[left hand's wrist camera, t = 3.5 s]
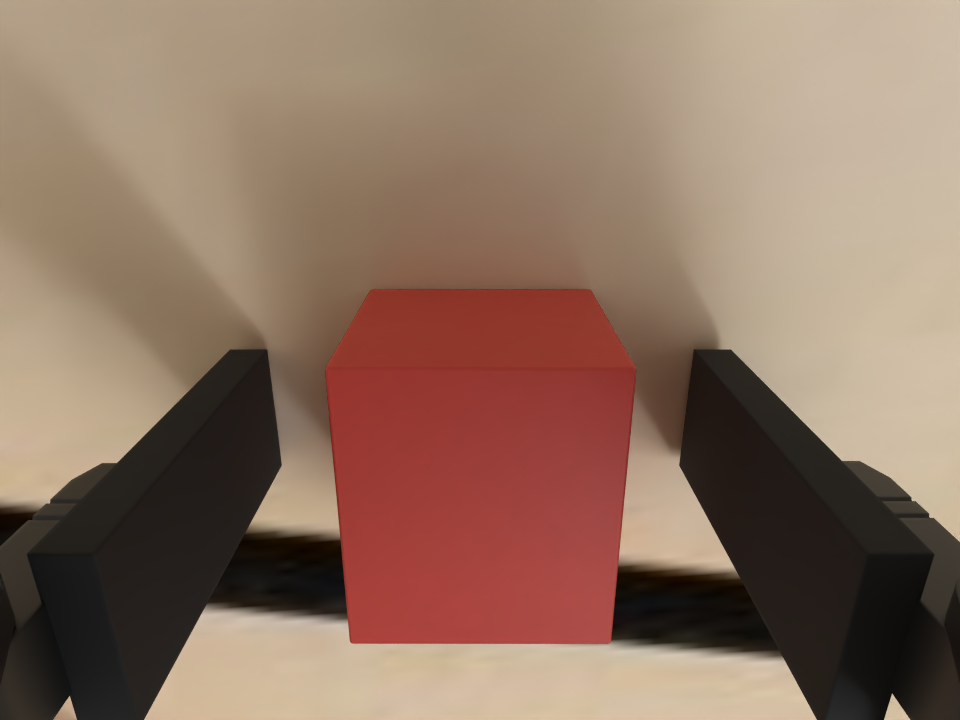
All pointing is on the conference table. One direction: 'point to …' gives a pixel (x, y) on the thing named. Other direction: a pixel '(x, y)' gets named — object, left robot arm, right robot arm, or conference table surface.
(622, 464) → the block
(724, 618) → the conference table surface
